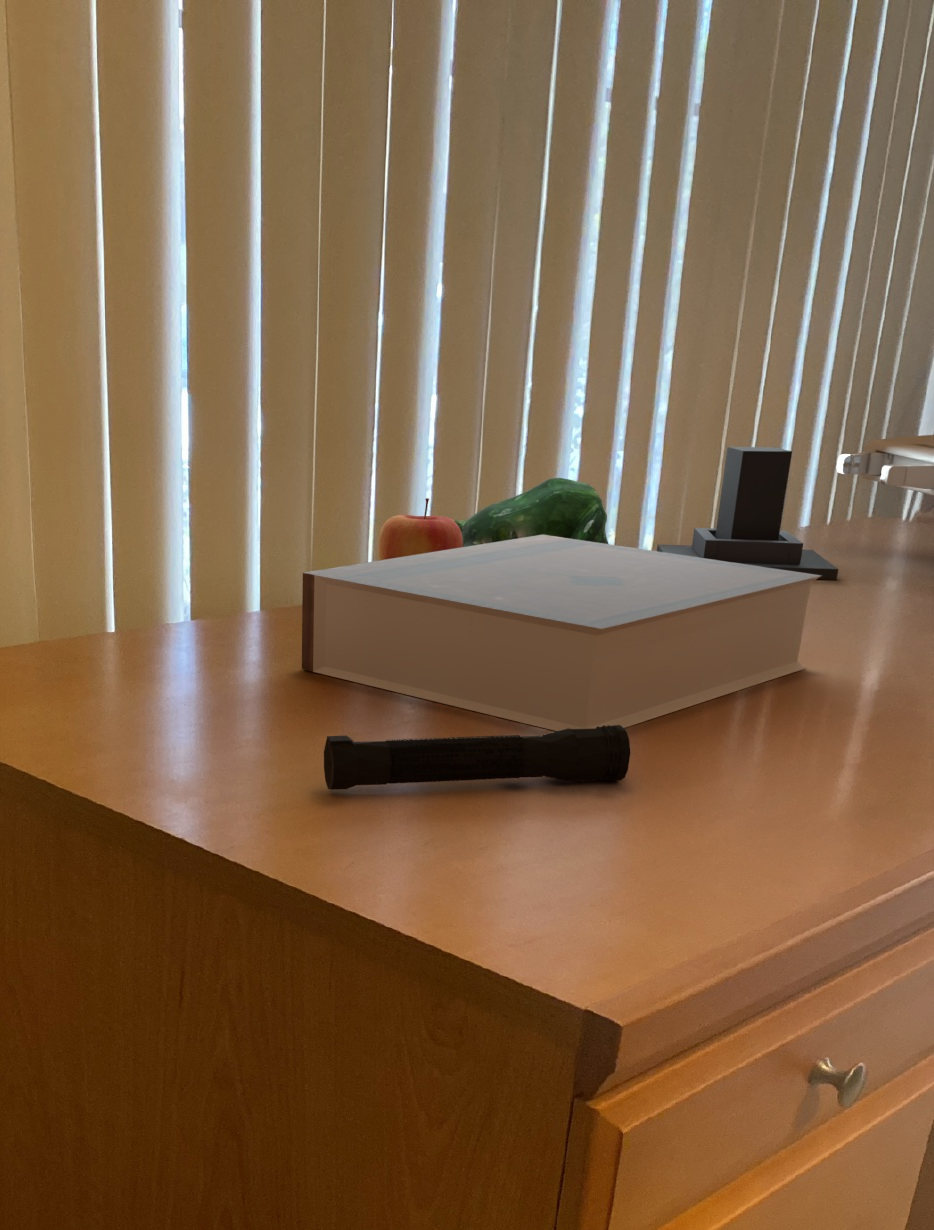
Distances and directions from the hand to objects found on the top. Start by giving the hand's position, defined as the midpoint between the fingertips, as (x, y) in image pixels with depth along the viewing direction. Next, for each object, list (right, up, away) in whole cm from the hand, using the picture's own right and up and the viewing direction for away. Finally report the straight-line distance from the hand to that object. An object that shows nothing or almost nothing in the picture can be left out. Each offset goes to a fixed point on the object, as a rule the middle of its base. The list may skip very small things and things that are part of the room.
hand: (861, 469), depth 144 cm
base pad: (-11, -9, +3) cm, 14 cm away
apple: (-45, -18, -15) cm, 51 cm away
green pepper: (-34, -13, -6) cm, 37 cm away
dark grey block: (-11, -8, +2) cm, 14 cm away
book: (-36, -30, -39) cm, 61 cm away
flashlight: (-44, -44, -64) cm, 89 cm away
